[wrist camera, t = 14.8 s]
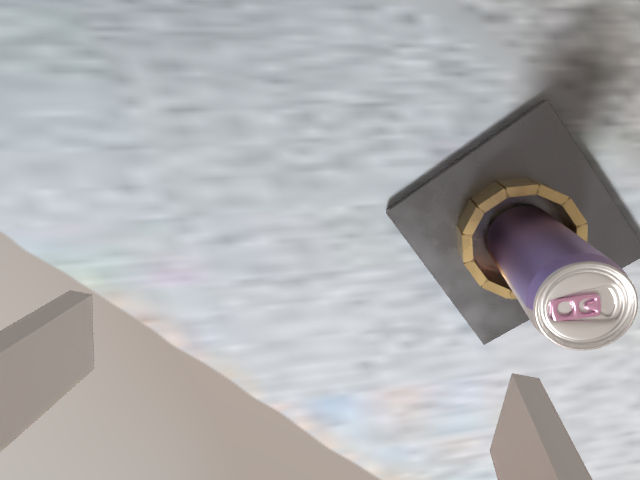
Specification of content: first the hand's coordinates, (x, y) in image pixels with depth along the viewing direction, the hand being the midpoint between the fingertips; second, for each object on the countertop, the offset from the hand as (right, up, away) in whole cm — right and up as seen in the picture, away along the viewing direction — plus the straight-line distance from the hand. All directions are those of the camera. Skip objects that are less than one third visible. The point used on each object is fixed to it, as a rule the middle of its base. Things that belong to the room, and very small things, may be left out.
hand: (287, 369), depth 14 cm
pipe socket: (+18, +5, +28) cm, 34 cm away
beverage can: (+19, +4, +27) cm, 33 cm away
